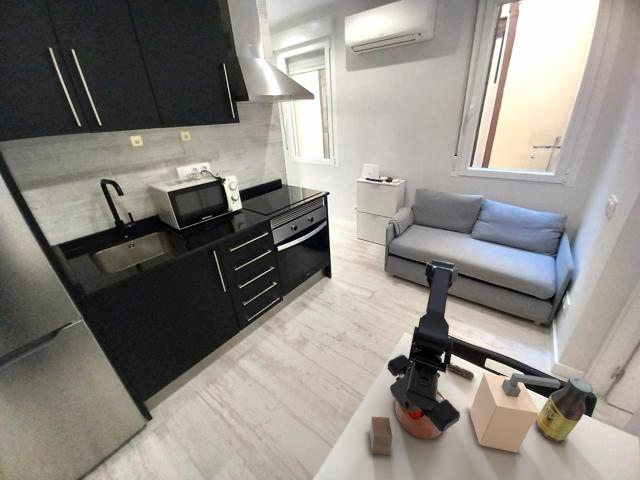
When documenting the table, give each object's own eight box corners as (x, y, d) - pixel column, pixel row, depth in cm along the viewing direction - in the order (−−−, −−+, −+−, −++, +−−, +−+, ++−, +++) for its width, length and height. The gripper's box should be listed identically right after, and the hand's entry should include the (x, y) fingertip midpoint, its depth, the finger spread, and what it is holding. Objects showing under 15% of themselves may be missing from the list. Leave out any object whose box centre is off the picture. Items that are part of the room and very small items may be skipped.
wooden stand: (369, 434, 69) (371, 416, 65) (386, 435, 68) (389, 417, 65) (371, 453, 65) (373, 435, 61) (389, 455, 64) (392, 436, 61)
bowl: (391, 389, 80) (393, 379, 77) (435, 391, 79) (438, 380, 77) (400, 437, 68) (403, 426, 66) (452, 440, 67) (456, 429, 65)
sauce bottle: (533, 413, 72) (559, 365, 64) (561, 425, 69) (594, 376, 61) (536, 436, 67) (565, 386, 59) (567, 450, 64) (603, 400, 56)
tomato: (406, 410, 72) (407, 403, 70) (418, 410, 71) (419, 403, 70) (409, 422, 69) (410, 415, 67) (421, 423, 68) (423, 415, 67)
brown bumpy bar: (445, 368, 85) (446, 361, 85) (445, 366, 87) (447, 360, 87) (472, 381, 81) (474, 374, 81) (472, 379, 83) (474, 372, 83)
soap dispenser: (479, 445, 66) (503, 389, 56) (469, 411, 73) (489, 357, 64) (536, 456, 63) (571, 400, 54) (519, 420, 71) (548, 365, 61)
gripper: (373, 353, 66) (369, 392, 73) (431, 421, 51) (419, 463, 58) (406, 337, 71) (400, 375, 77) (468, 396, 55) (453, 437, 62)
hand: (415, 408), depth 69 cm, fingers open, 4 cm apart
